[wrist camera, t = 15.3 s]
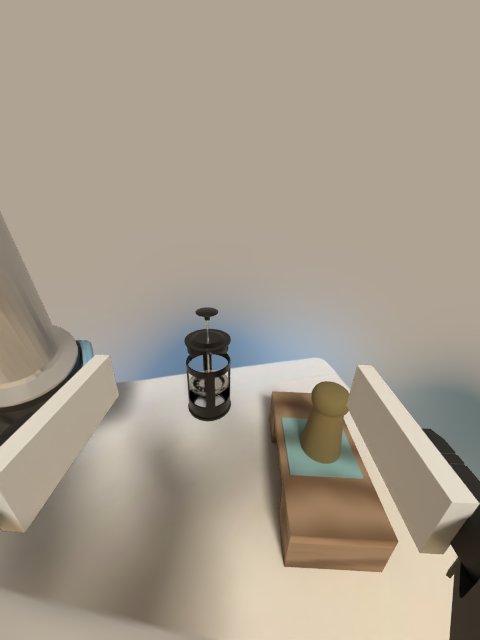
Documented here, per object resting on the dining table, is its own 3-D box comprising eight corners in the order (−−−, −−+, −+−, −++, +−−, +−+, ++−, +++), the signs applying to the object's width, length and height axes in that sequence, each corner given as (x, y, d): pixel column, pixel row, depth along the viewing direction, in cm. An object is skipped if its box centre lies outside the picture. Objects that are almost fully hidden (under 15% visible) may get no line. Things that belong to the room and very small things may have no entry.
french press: (234, 420, 52) (236, 320, 42) (188, 426, 50) (179, 323, 40) (226, 384, 62) (227, 297, 52) (188, 388, 60) (182, 299, 51)
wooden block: (381, 572, 30) (399, 540, 27) (284, 566, 31) (290, 534, 28) (326, 420, 52) (332, 392, 49) (269, 417, 53) (272, 390, 50)
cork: (299, 426, 41) (308, 372, 37) (337, 432, 40) (351, 378, 36) (301, 459, 36) (312, 400, 31) (344, 467, 35) (362, 408, 31)
